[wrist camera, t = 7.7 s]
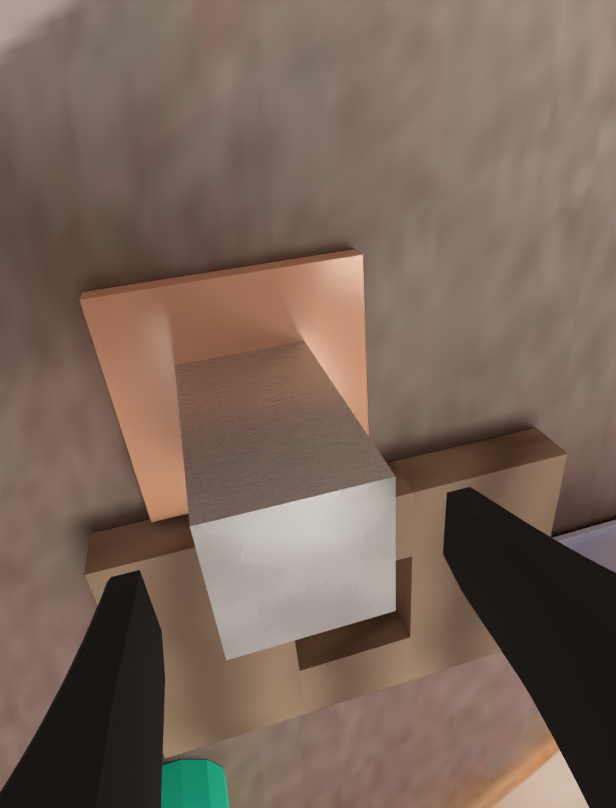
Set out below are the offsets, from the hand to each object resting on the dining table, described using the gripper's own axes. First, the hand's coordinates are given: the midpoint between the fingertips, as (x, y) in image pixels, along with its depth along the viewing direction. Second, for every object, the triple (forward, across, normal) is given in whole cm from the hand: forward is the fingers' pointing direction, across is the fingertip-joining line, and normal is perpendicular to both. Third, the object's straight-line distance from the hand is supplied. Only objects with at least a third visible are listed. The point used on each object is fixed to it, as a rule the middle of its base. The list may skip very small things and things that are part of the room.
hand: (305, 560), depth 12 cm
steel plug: (+8, 0, 0) cm, 8 cm away
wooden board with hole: (+9, -3, +11) cm, 15 cm away
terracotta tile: (+9, 0, 0) cm, 9 cm away
